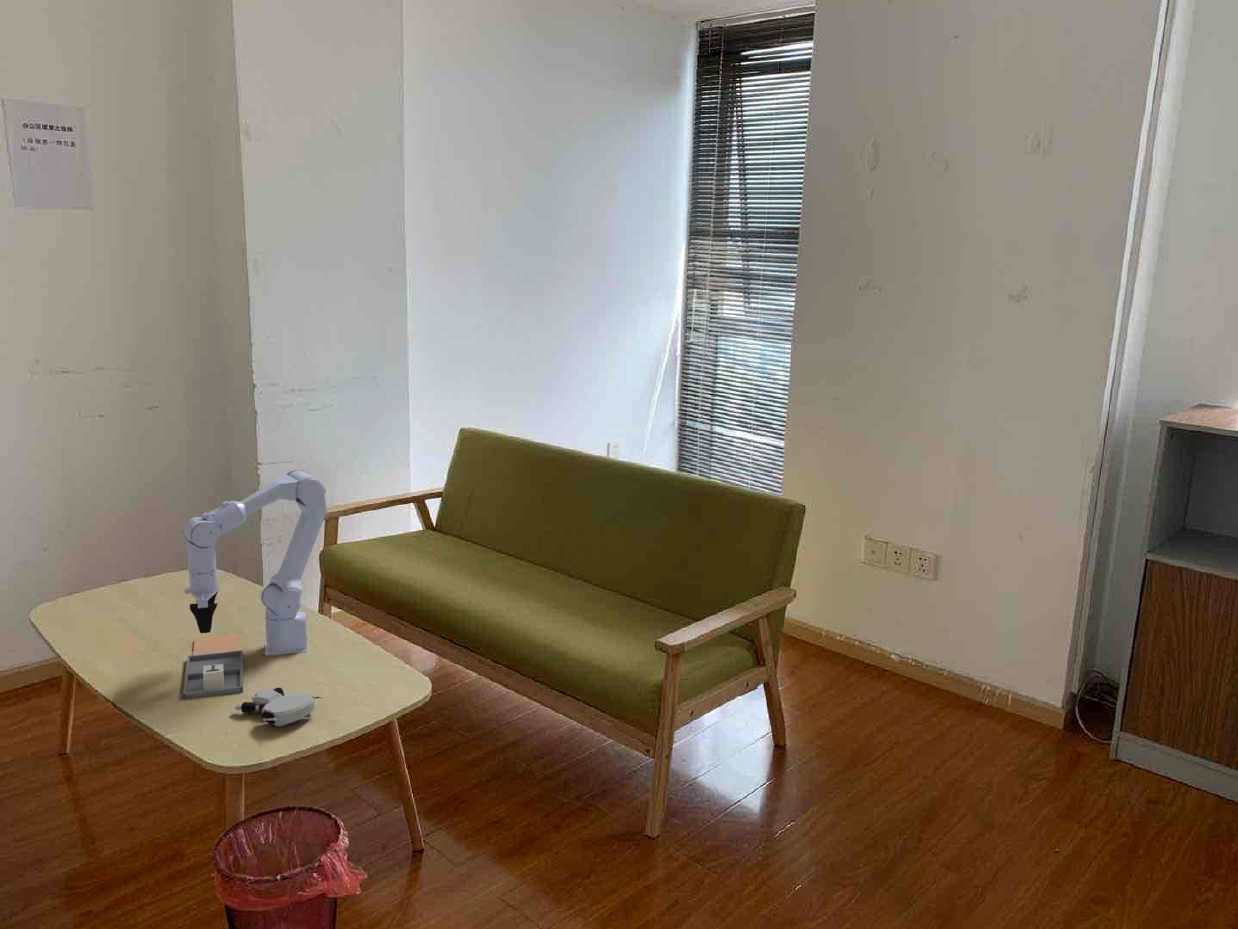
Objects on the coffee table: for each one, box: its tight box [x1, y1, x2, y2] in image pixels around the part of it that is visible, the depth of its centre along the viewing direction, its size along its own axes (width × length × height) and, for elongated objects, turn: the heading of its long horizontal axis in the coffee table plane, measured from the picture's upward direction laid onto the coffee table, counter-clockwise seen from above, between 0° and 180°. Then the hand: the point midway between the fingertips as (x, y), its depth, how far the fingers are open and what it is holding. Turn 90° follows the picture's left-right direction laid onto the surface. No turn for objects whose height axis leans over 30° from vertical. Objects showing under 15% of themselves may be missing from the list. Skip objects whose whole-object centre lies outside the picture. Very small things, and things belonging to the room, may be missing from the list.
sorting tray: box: [182, 650, 244, 700], centre depth 215 cm, size 12×20×2 cm, turn 21°
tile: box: [192, 633, 240, 655], centre depth 230 cm, size 10×10×1 cm
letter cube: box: [203, 664, 224, 690], centre depth 210 cm, size 4×4×4 cm
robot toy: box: [234, 687, 324, 727], centre depth 200 cm, size 12×4×15 cm
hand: (206, 625), depth 218 cm, fingers open, 7 cm apart
